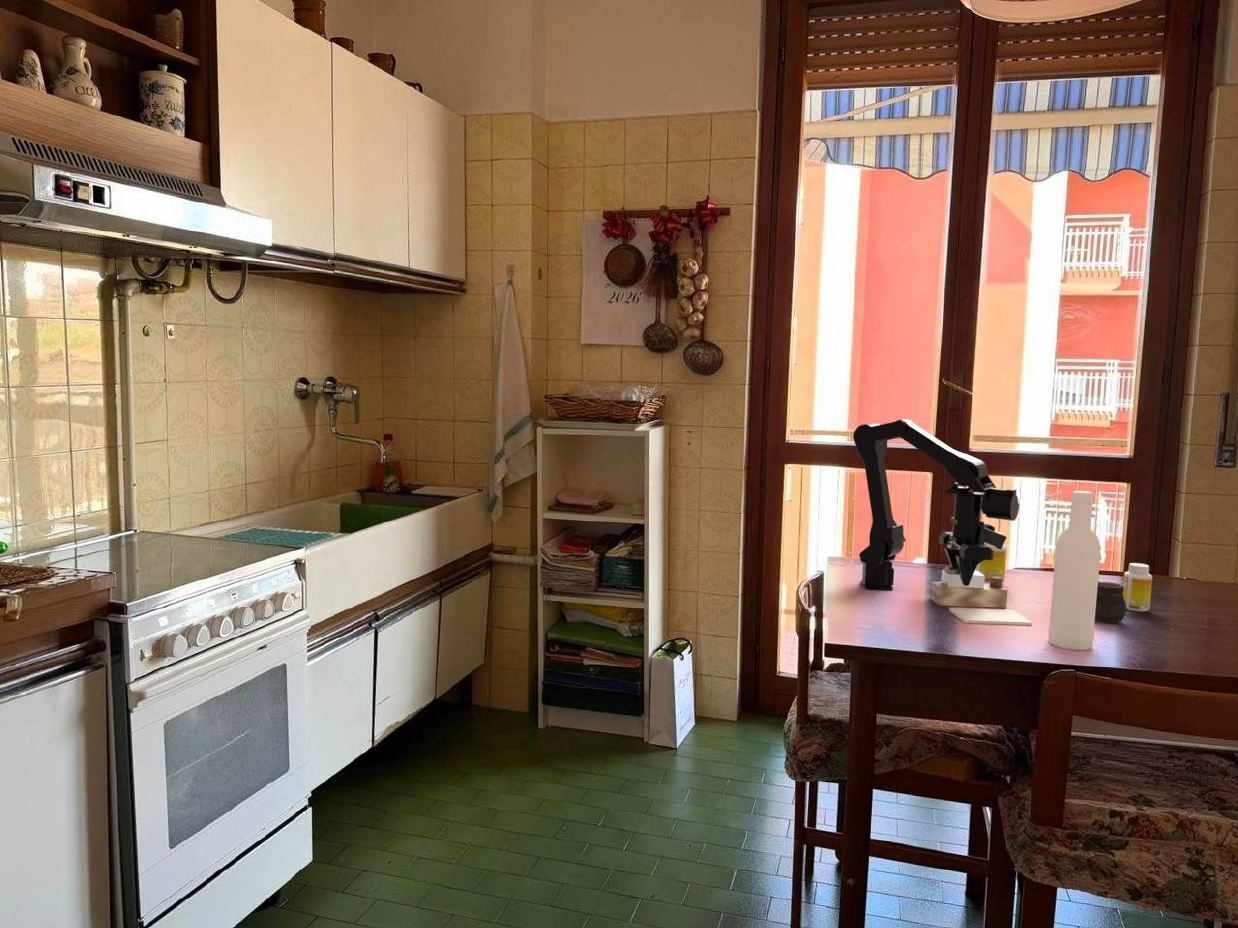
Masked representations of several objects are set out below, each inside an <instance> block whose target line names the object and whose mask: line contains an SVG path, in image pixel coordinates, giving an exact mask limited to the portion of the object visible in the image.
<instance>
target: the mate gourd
mask: <svg viewBox="0 0 1238 928" xmlns="http://www.w3.org/2000/svg"><path fill="white" fill-rule="evenodd" d="M1123 591H1124V586H1123V585H1122V584H1121V583H1116V582H1111V581H1099V580H1098V586H1097V598H1096V609H1095V621H1097V622H1100V623H1104V624H1118V623H1120V622H1121V621H1123V620H1124V618H1125V616H1126V613H1127V611H1128V610H1127V608H1126V603H1125V600H1124V597H1123Z"/></svg>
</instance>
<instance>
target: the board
mask: <svg viewBox="0 0 1238 928" xmlns="http://www.w3.org/2000/svg"><path fill="white" fill-rule="evenodd" d="M948 611H949V612H950V613H952V614H953V615H954V616H955V617H957V618H958V619H960V621H961V622H963V623H964V624H980V625H981V624H983V625H986V624H987V625H988V624H989V625H1009V626H1010V625H1011V626H1013V625H1015V626H1033V621H1031V620H1030V619H1027V617H1025V616H1023V615H1022V614H1020V613H1019V612H1017V611H1016V610H1014V609H1003V608H999V609H997V608H996V609H995V608H975V607H974V608H973V607H969V608H968V607H948Z"/></svg>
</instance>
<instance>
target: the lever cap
mask: <svg viewBox="0 0 1238 928" xmlns="http://www.w3.org/2000/svg"><path fill="white" fill-rule="evenodd" d="M984 579H985V575H983V574H981V573H980V572H978V571H976V570H975V571H974V574H973V576H972V579H971V581H970V584H969V586H964V585H963V582H962V578H961V574H960V570H959V569H957V568H956V567H951V566H945V567H944V569H941V581H940V582H941V583H943V584H944V585H945V586H947V587H951V588H979V589H984Z"/></svg>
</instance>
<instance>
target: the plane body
mask: <svg viewBox="0 0 1238 928" xmlns="http://www.w3.org/2000/svg"><path fill="white" fill-rule="evenodd" d="M1002 580H1003V579H1002V578H1000V577H990V584H987V583H984V589H979V588H951V587H947V586H945V585H944V584H943V583H941V581H931V584H930V586H931V587H930V598H929V599H930V600H932V601H933V603H935V604H936V605H938V606H944V607H945V606H946V607H947V606H948V607H949V606H950V607H971V608H973V607H974V608H975V607H977V608H978V607H979V608H980V607H981V608H999V609H1003V608H1005V609H1006V608H1007V604H1008V589H1006V588H1004V587H1003V584H1002Z"/></svg>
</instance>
